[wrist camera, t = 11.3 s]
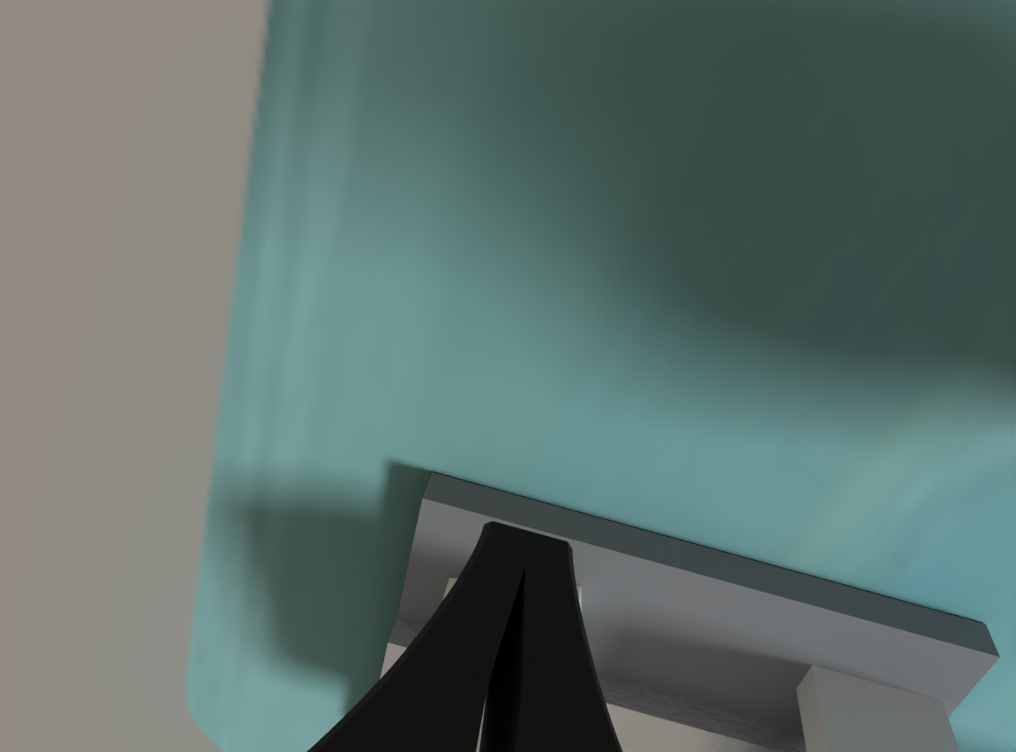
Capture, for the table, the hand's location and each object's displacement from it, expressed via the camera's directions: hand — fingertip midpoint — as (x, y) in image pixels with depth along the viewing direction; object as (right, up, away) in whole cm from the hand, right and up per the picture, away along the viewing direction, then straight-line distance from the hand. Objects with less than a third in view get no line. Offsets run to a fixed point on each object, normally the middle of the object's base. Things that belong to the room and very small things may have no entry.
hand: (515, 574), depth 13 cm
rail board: (+4, -7, +15) cm, 17 cm away
